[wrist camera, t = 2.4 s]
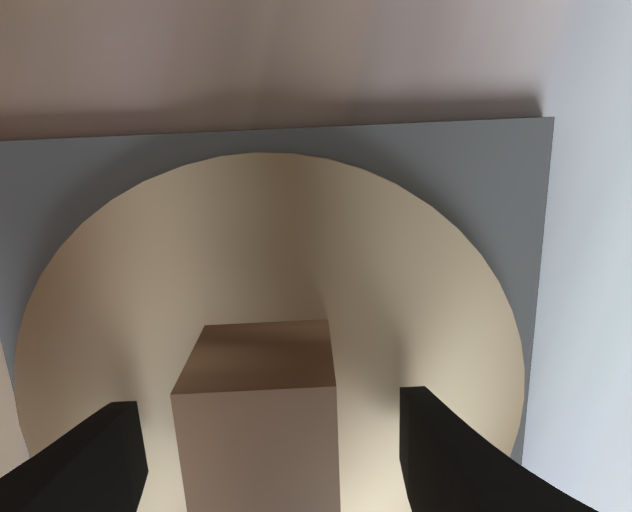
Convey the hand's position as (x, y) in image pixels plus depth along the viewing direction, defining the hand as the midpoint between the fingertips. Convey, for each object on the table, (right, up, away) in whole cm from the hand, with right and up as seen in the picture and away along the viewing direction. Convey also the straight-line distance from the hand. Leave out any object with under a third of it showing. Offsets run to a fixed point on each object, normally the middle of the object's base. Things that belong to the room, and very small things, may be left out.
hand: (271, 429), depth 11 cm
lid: (0, 0, +1) cm, 2 cm away
